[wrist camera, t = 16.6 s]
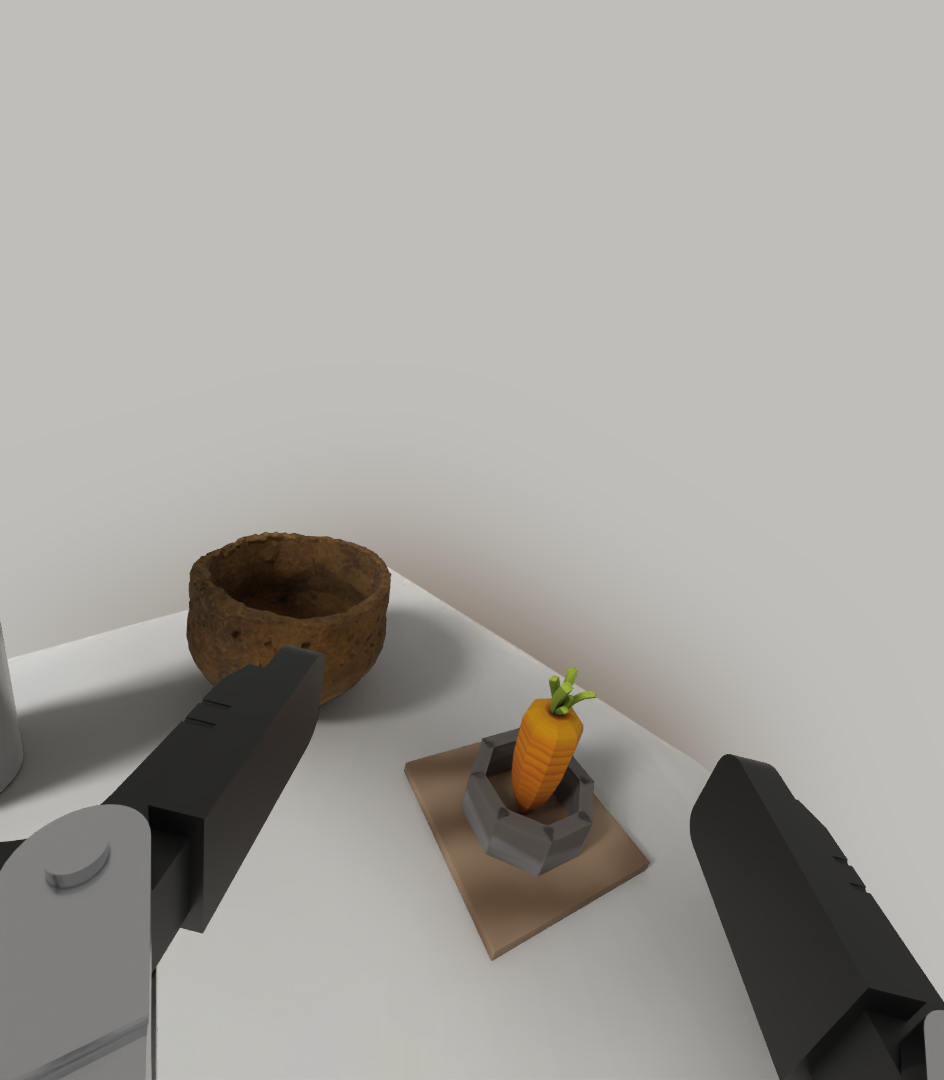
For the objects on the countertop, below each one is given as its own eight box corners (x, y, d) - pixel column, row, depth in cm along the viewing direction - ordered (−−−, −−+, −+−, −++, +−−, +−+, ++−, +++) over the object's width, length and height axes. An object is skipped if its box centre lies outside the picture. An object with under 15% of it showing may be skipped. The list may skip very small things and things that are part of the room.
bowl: (182, 781, 38) (181, 628, 33) (190, 645, 53) (189, 525, 47) (398, 734, 47) (424, 610, 42) (353, 630, 62) (368, 529, 57)
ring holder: (404, 770, 43) (413, 730, 42) (535, 732, 52) (548, 697, 50) (491, 960, 31) (509, 915, 29) (645, 869, 40) (666, 830, 38)
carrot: (522, 779, 44) (566, 649, 39) (560, 821, 41) (614, 685, 36) (484, 801, 41) (526, 663, 36) (522, 849, 38) (575, 704, 33)
